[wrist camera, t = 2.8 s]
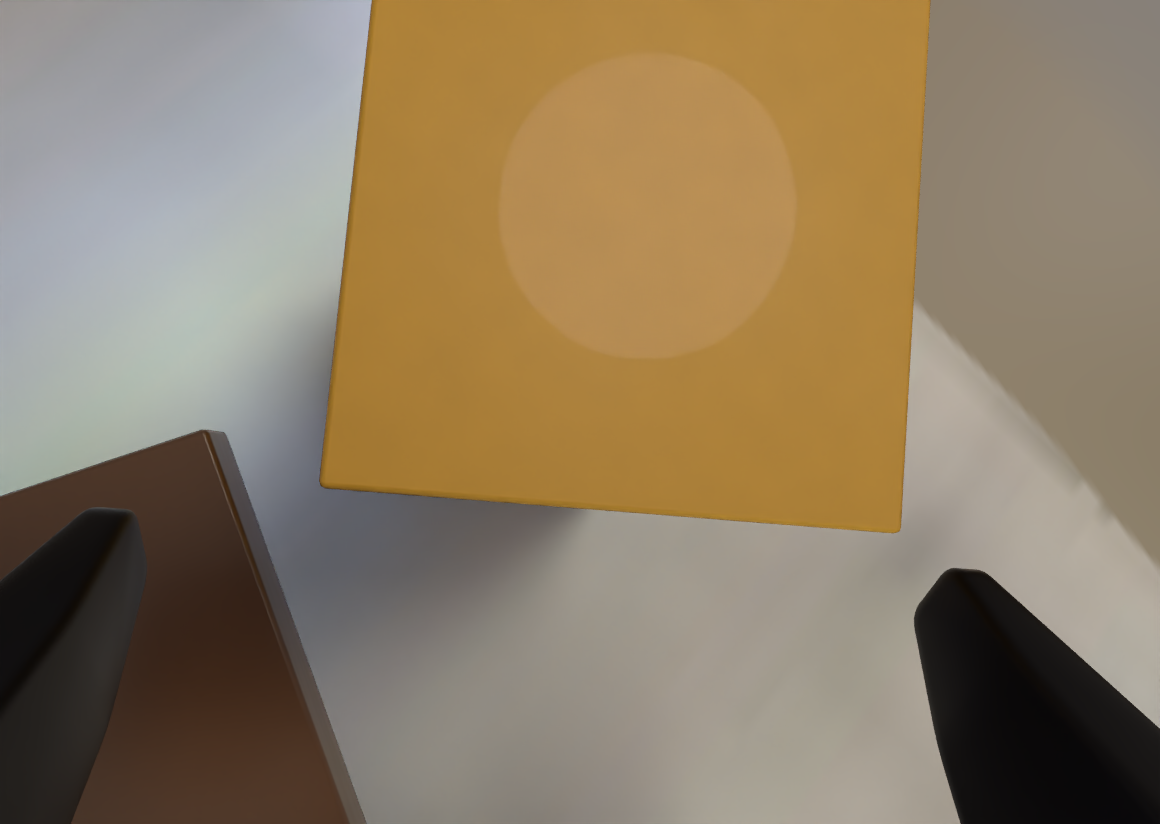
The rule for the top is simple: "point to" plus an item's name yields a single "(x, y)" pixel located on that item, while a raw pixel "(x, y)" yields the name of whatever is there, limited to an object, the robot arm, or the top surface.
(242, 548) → the board stand
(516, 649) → the top surface
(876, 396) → the block
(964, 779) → the robot arm
